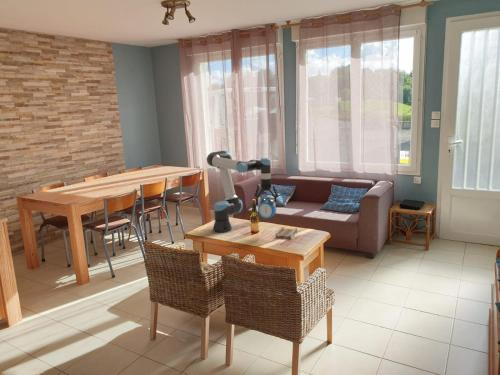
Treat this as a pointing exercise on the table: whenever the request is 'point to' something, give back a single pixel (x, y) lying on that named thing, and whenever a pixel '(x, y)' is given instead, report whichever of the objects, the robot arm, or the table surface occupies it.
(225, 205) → the robot arm
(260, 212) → the alarm clock
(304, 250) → the table surface
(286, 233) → the plinth
